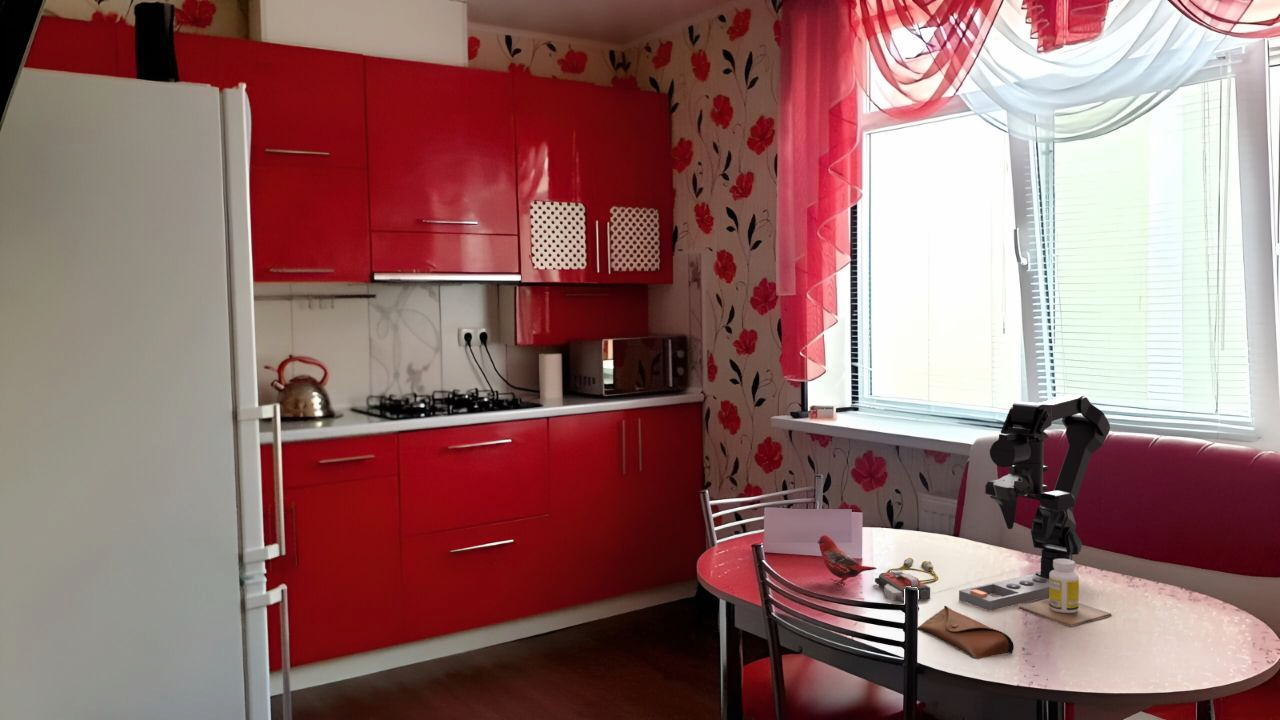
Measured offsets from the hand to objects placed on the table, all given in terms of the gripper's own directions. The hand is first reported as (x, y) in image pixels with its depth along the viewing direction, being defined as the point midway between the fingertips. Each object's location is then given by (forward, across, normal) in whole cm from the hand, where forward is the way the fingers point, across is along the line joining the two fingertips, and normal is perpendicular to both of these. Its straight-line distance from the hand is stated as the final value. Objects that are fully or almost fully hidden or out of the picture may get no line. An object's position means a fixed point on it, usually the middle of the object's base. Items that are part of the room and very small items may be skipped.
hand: (1027, 533), depth 204 cm
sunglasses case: (+13, +14, -34) cm, 39 cm away
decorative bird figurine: (+12, -21, -32) cm, 40 cm away
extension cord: (+13, -20, -13) cm, 27 cm away
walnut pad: (+12, +14, -6) cm, 19 cm away
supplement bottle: (+12, +14, -6) cm, 19 cm away
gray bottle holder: (+12, +2, -7) cm, 14 cm away
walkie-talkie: (+13, -9, -26) cm, 30 cm away
